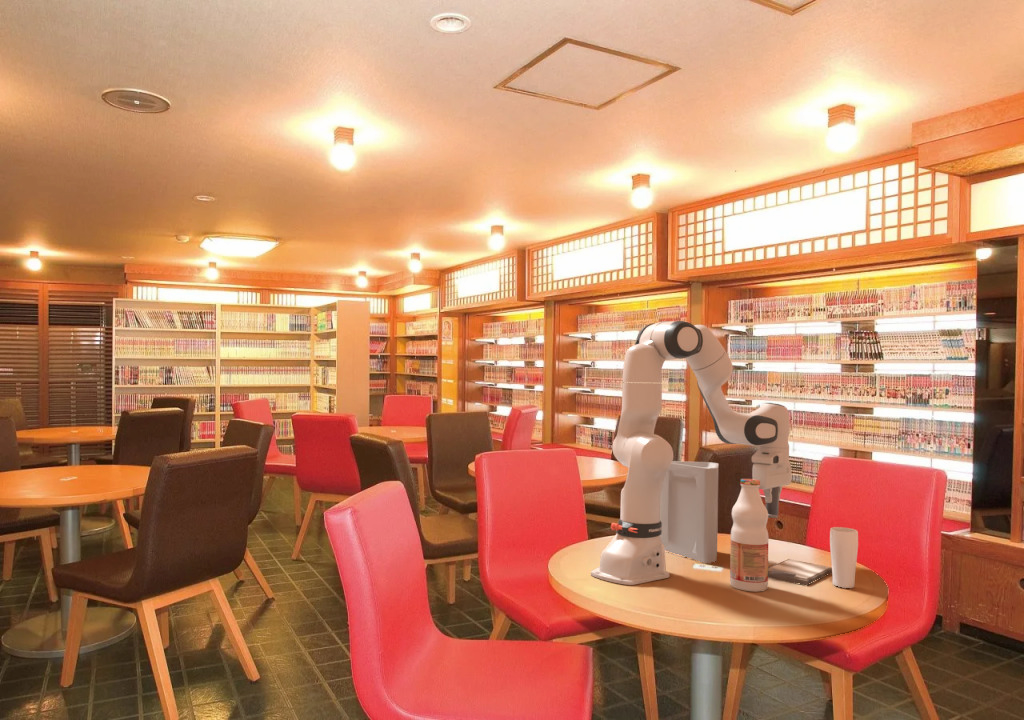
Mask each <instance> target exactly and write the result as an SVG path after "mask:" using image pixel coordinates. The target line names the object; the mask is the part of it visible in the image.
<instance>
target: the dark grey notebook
mask: <svg viewBox="0 0 1024 720" xmlns="http://www.w3.org/2000/svg"><path fill="white" fill-rule="evenodd" d="M830 573H831V574H832V566H825V565H822V564H821V565H820V564H815V563H812V562H811V563H810V562H806V561H802V560H801V561H800V560H796V559H791V558H788V559H786V560H783V561H781V562H778V563H775V564H773V565H771V566H768V579H769V578H770V579H774V580H779V581H784V582H787V581H788V583H792V582H795V583H794V584H796V583H800V584H799V585H801V584H804V585H803V586H805V585H807V584H809V583H811V582H813V581H815V580H817V579H819V578H821V577H823V578H825V577H826V576H825V575H827V574H829V575H831V574H830ZM824 576H825V577H824ZM827 576H828V575H827ZM821 579H822V578H821ZM819 580H820V579H819ZM817 581H818V580H817ZM815 582H816V581H815ZM813 583H814V582H813ZM811 584H812V583H811ZM809 585H810V584H809ZM807 586H808V585H807Z"/></svg>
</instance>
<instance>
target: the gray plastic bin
mask: <svg viewBox="0 0 1024 720" xmlns="http://www.w3.org/2000/svg"><path fill="white" fill-rule="evenodd" d="M718 518H719V463H717V462H712V461H711V462H708V461H681V460H679V461H678V460H674V461H672V464H671V465H670V467H669V468H668V469H667V471H666V474H665V478H664V482H663V486H662V491H661V503H660V521H661V522H662V534H661V535H660V538H661V541H662V543H663V545H664V548H665V550H666V551H669V552H672V553H675V554H679V555H682V556H685V557H688V558H691V559H694V560H697V561H700V562H699V563H701V562H703V563H702V564H704V563H708V564H712V563H711V562H714V563H716V562H717V558H718V557H717V556H718V527H719V526H718V524H719V523H718ZM691 559H690V560H691ZM694 560H693V561H694ZM697 561H696V562H697ZM715 561H716V562H715Z"/></svg>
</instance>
